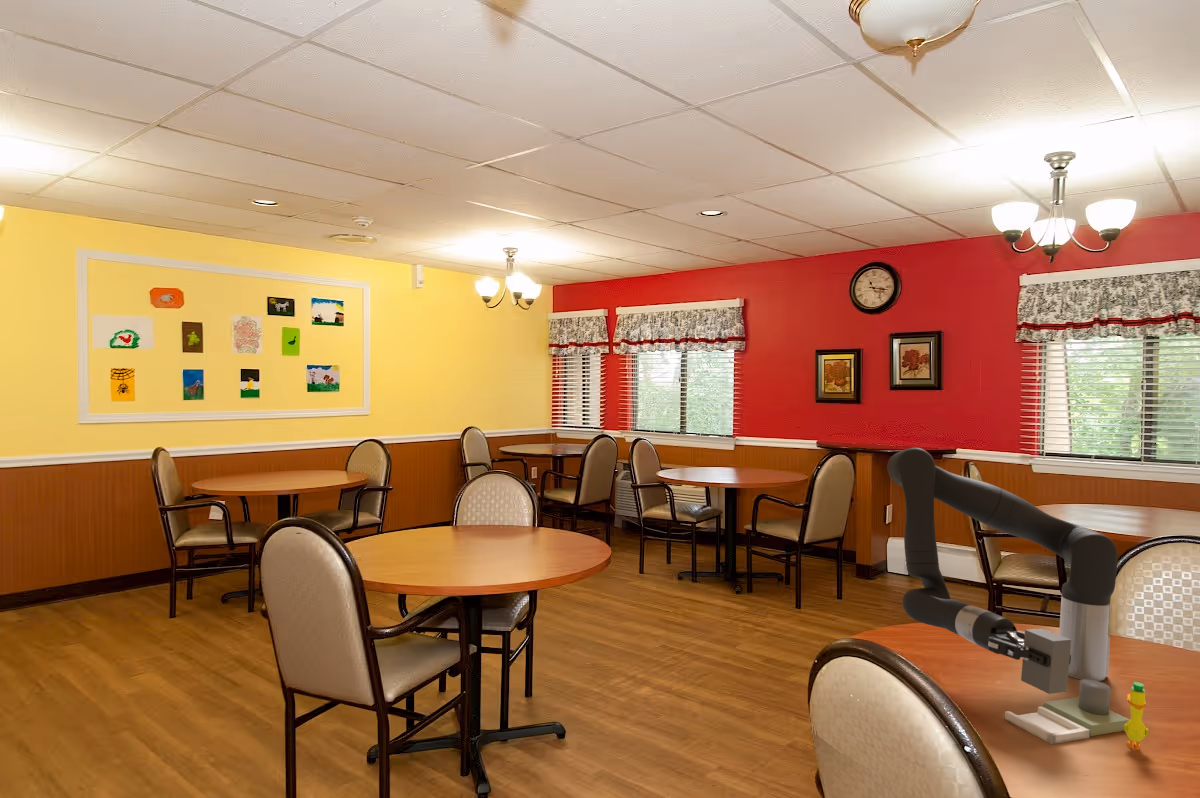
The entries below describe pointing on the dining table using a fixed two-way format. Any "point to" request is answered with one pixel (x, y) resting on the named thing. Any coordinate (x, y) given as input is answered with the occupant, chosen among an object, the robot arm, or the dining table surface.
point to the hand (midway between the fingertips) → (1059, 660)
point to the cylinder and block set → (1073, 716)
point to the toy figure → (1136, 716)
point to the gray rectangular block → (1057, 672)
